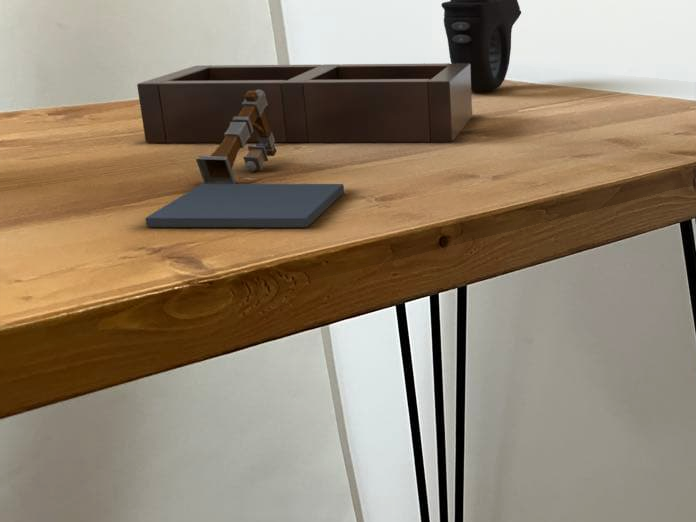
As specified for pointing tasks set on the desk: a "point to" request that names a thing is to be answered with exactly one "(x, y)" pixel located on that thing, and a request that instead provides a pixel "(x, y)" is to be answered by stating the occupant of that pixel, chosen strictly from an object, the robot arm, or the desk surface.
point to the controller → (481, 38)
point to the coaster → (248, 206)
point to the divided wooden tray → (311, 102)
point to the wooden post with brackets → (240, 143)
